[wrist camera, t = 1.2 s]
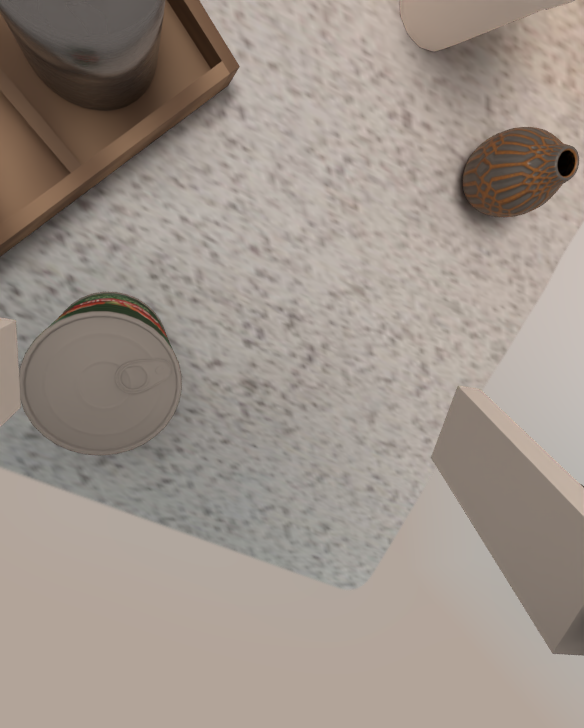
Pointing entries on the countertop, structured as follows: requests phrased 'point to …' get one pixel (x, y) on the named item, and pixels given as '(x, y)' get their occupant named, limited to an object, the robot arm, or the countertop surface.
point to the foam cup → (463, 18)
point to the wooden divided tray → (95, 120)
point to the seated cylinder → (89, 47)
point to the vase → (517, 171)
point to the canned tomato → (101, 376)
